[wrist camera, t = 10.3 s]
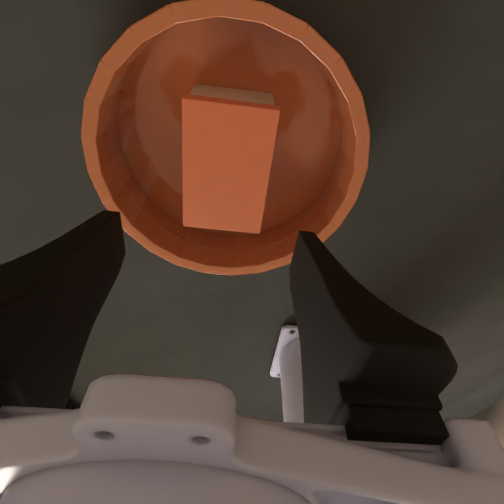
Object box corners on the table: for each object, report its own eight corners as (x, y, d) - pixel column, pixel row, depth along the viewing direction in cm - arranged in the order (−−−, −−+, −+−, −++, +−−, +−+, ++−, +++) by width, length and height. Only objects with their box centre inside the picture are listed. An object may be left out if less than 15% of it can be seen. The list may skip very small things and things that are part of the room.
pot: (387, 18, 17) (419, 24, 13) (317, 247, 25) (327, 284, 22) (89, -27, 16) (47, -32, 12) (124, 229, 24) (105, 264, 21)
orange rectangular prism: (275, 89, 18) (280, 110, 15) (258, 199, 22) (260, 234, 19) (193, 78, 18) (181, 97, 15) (192, 192, 22) (182, 226, 19)
